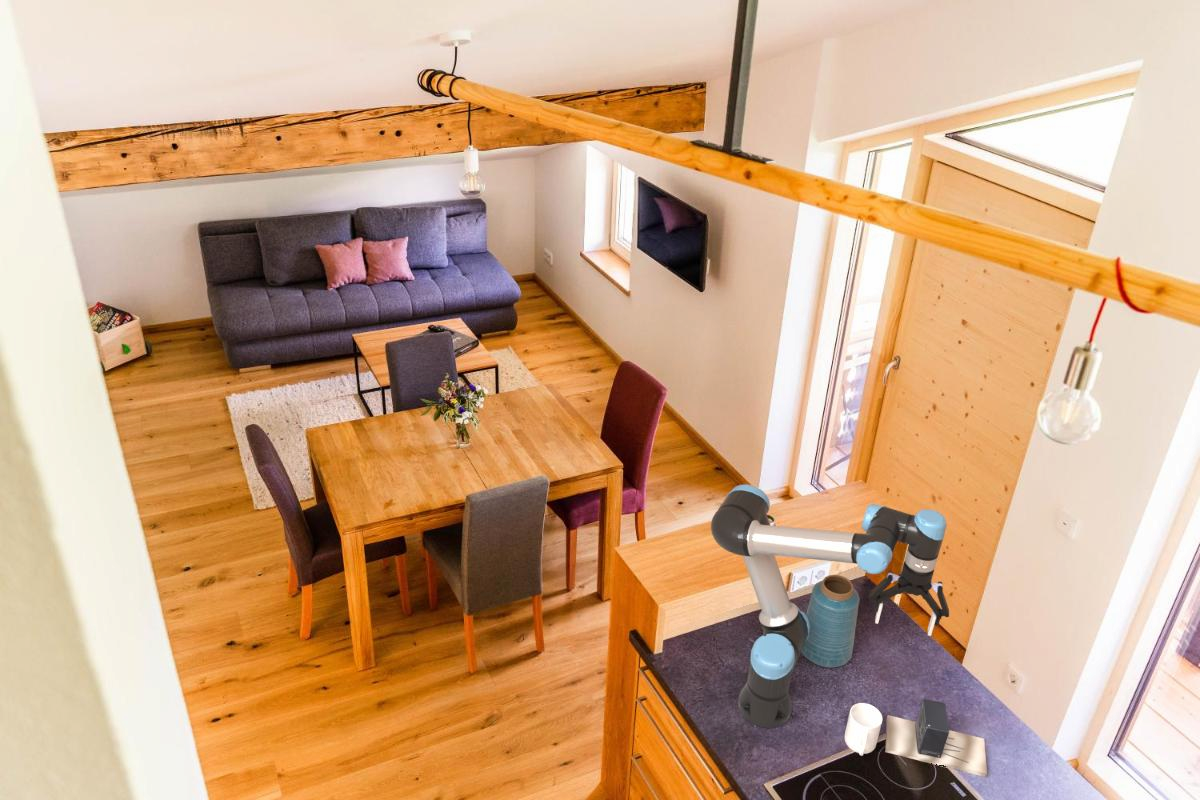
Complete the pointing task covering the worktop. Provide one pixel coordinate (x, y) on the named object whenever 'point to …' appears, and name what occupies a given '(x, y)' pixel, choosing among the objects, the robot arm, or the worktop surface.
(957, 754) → the board
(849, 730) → the mug
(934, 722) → the small box
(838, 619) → the vase
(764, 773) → the worktop surface
